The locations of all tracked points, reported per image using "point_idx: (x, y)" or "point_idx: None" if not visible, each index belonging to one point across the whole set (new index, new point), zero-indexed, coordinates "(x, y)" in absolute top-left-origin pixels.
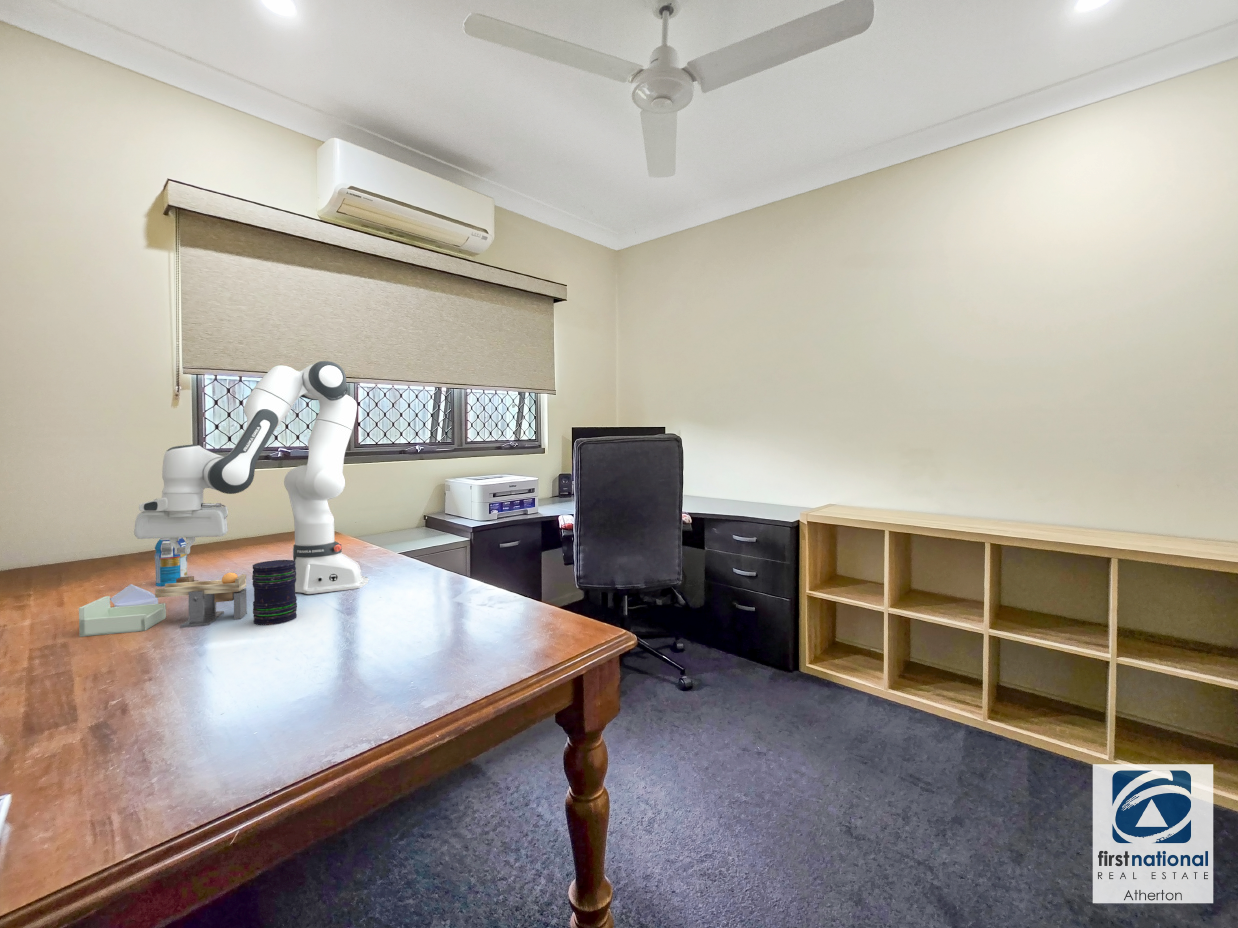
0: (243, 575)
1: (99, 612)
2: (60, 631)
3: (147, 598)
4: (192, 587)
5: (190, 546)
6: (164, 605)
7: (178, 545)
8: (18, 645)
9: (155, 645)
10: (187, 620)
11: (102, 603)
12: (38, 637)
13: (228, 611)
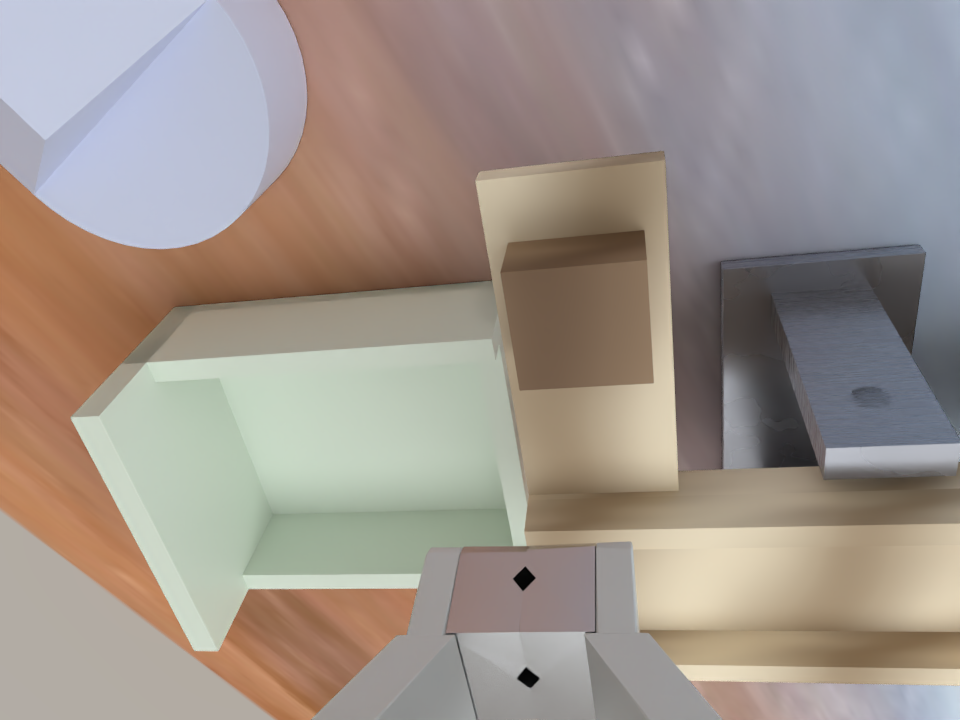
0: None
1: (196, 473)
2: (65, 408)
3: (160, 54)
4: (829, 676)
5: (654, 654)
6: (497, 349)
7: (434, 689)
8: (95, 563)
9: (726, 711)
10: (726, 439)
11: (157, 477)
12: (59, 478)
13: (945, 201)
